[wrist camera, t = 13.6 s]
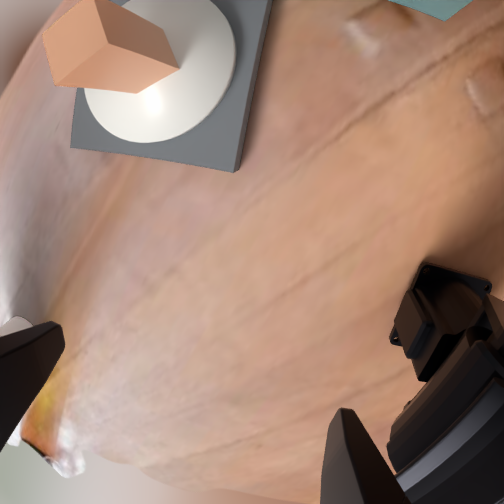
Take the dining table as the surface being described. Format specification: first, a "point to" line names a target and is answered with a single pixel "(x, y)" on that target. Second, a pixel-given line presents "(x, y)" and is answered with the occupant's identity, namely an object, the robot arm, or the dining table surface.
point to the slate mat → (214, 126)
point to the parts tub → (435, 7)
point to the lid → (144, 63)
